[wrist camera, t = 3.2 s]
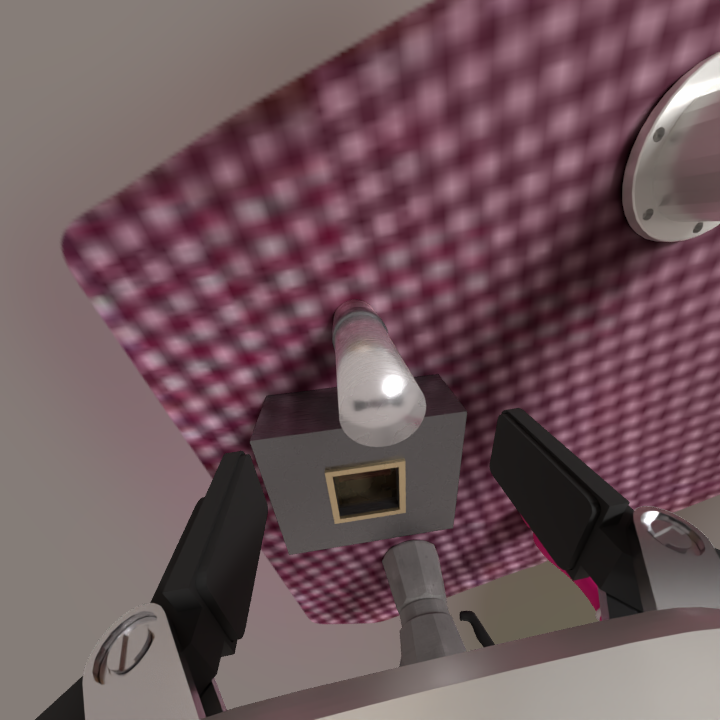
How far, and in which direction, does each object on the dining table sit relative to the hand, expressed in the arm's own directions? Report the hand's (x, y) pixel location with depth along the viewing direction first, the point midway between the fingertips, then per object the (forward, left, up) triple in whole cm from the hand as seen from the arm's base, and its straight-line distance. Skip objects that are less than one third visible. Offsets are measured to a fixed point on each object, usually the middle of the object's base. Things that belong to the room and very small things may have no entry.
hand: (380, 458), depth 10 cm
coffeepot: (+23, +33, -17) cm, 44 cm away
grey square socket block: (+10, +10, -16) cm, 22 cm away
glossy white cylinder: (-1, 0, -16) cm, 16 cm away
